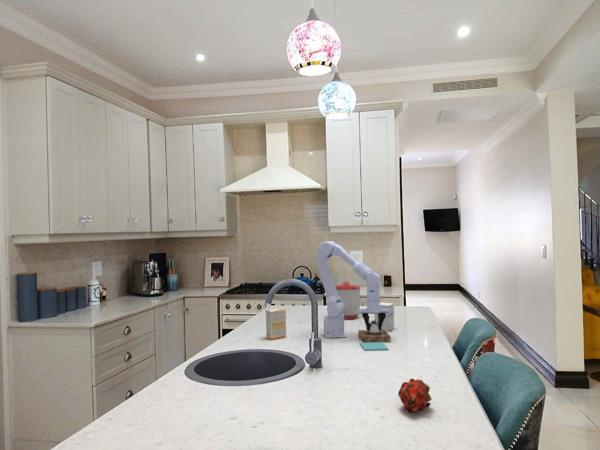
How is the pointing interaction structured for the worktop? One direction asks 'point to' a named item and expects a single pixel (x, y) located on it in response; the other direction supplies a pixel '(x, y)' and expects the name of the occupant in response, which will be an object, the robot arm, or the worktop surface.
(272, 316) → the supplement box
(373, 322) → the metal plug
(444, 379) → the worktop surface
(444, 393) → the worktop surface
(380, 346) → the teal mat
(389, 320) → the white boxy piece
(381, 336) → the bore block
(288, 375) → the worktop surface
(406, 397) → the dragon fruit
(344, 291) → the citrus juicer
